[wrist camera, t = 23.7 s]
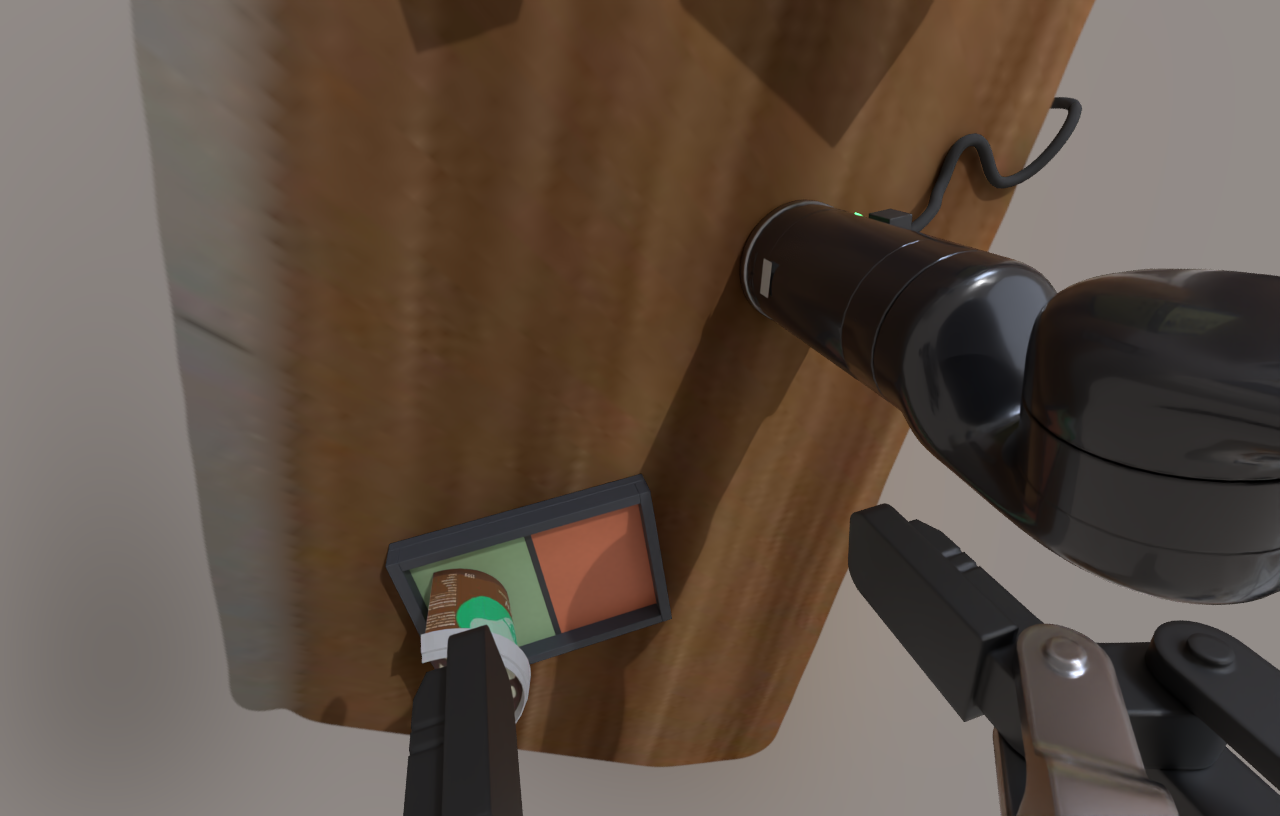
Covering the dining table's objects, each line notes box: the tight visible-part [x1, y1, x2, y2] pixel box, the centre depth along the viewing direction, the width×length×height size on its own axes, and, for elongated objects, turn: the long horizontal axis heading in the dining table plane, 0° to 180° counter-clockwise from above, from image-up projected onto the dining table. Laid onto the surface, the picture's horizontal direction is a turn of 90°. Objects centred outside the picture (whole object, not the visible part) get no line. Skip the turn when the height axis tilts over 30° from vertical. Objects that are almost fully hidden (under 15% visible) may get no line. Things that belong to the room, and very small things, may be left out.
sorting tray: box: [386, 474, 672, 665], centre depth 53 cm, size 22×16×3 cm
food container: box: [421, 568, 531, 724], centre depth 48 cm, size 12×6×10 cm, turn 11°
